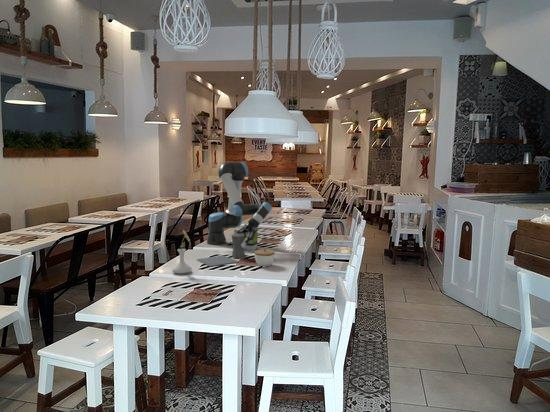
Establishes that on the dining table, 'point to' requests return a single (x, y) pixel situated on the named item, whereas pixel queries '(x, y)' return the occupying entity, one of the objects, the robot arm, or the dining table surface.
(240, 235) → the coffeepot
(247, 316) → the dining table surface
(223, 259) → the mat
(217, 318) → the dining table surface
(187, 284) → the dining table surface
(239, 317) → the dining table surface
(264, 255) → the lidded bowl
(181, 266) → the flower in vase
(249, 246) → the tea box
